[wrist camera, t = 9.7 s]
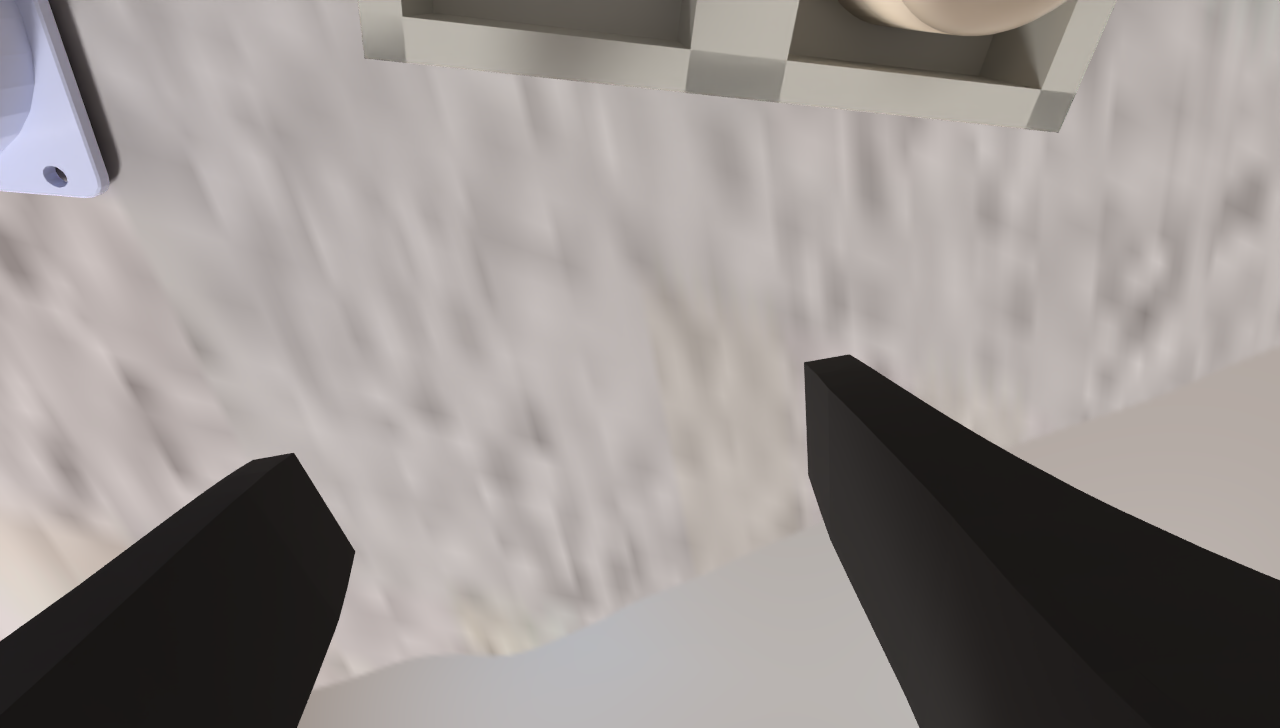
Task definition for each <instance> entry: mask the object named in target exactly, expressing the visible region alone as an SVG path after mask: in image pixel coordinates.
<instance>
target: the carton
mask: <svg viewBox="0 0 1280 728" xmlns="http://www.w3.org/2000/svg"><path fill="white" fill-rule="evenodd" d="M1116 1H1117V0H1067V1H1066V2H1064V3H1063V4H1062V5H1060V6H1059V7H1057V8H1056V9H1054V10H1053V11H1051V12H1049V13H1047V14H1045V15H1044V16H1042V17H1040V18H1038V19H1036V20H1034V21H1032V22H1030V23H1028V24H1025V25H1023V26H1020V27H1018V28H1015V29H1011V30H1008V31H1004V32H1000V33H996V34H991V35H982V36H959V35H950V34H941V33H933V32H925V31H917V30H909V29H900V28H892V27H884V26H878V25H873V24H870V23H867V22H865V21H862V20H860V19H858V18H857V17H855V16H853V15H852V14H851V13H849V12H848V11H847V10H846V9H845V8H844V7H843V6H842V5H841V4H840V3H839V1H838V0H358V8H359V16H360V25H361V33H362V42H363V50H364V58H365V59H375V60H384V61H394V62H403V63H412V64H422V65H431V66H440V67H450V68H459V69H468V70H478V71H487V72H496V73H506V74H515V75H524V76H534V77H543V78H553V79H562V80H571V81H581V82H590V83H599V84H609V85H618V86H627V87H637V88H646V89H655V90H665V91H674V92H683V93H693V94H702V95H711V96H721V97H730V98H740V99H749V100H758V101H768V102H777V103H786V104H796V105H805V106H814V107H824V108H833V109H842V110H852V111H861V112H870V113H880V114H889V115H899V116H908V117H917V118H927V119H936V120H945V121H955V122H964V123H973V124H983V125H992V126H1001V127H1011V128H1020V129H1029V130H1039V131H1048V132H1057V133H1059V131H1060V128H1061V126H1062V124H1063V122H1064V119H1065V117H1066V115H1067V112H1068V110H1069V108H1070V106H1071V103H1072V101H1073V99H1074V96H1075V94H1076V92H1077V90H1078V87H1079V85H1080V83H1081V81H1082V78H1083V76H1084V74H1085V71H1086V69H1087V67H1088V65H1089V62H1090V60H1091V58H1092V55H1093V53H1094V51H1095V49H1096V46H1097V44H1098V42H1099V39H1100V37H1101V35H1102V33H1103V30H1104V28H1105V26H1106V23H1107V21H1108V19H1109V17H1110V14H1111V12H1112V10H1113V7H1114V5H1115V3H1116Z"/></svg>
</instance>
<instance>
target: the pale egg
mask: <svg viewBox="0 0 1280 728" xmlns="http://www.w3.org/2000/svg"><path fill="white" fill-rule="evenodd" d="M838 1H839V3H840V4H841V5H842V6H843V7H844V8H845V9H846V10H847V11H848V12H849V13H851V14H852V15H853V16H855V17H857V18H858V19H860V20H862V21H865V22H867V23H870V24H873V25H878V26H884V27H892V28H900V29H909V30H917V31H925V32H933V33H941V34H950V35H959V36H982V35H991V34H996V33H1000V32H1004V31H1008V30H1011V29H1015V28H1018V27H1020V26H1023V25H1025V24H1028V23H1030V22H1032V21H1034V20H1036V19H1038V18H1040V17H1042V16H1044V15H1045V14H1047V13H1049V12H1051V11H1053V10H1054V9H1056V8H1057V7H1059V6H1060V5H1062V4H1063V3H1064V2H1066V1H1067V0H838Z"/></svg>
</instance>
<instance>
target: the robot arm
mask: <svg viewBox="0 0 1280 728" xmlns="http://www.w3.org/2000/svg"><path fill="white" fill-rule="evenodd" d="M55 167H57V168H59V169H60V170H61V171H63V172H64V174H65V175H66V177H67V182H65V181H64V180H62V179H61V178H60V177H59V176H58V174H57V173H56V169H55ZM109 185H110V183H109V176H108V173H107V170H106V168H105V165H104V162H103V159H102V156H101V153H100V150H99V147H98V144H97V141H96V138H95V136H94V133H93V130H92V127H91V124H90V121H89V118H88V115H87V112H86V109H85V106H84V103H83V101H82V98H81V95H80V92H79V89H78V86H77V83H76V80H75V77H74V74H73V71H72V69H71V66H70V63H69V60H68V57H67V54H66V51H65V48H64V45H63V42H62V39H61V37H60V34H59V31H58V28H57V25H56V22H55V19H54V16H53V13H52V10H51V7H50V4H49V2H48V0H0V191H6V192H18V193H30V194H43V195H55V196H67V197H80V198H91V197H95V196H98V195H100V194H102V193H104V192H105V191H107V190H108V187H109ZM804 373H805V400H806V426H807V452H808V475H809V478H810V481H811V484H812V487H813V490H814V493H815V496H816V499H817V502H818V505H819V508H820V511H821V514H822V517H823V520H824V523H825V526H826V529H827V531H828V534H829V537H830V540H831V541H832V544H833V546H834V548H835V550H836V552H837V554H838V557H839V559H840V561H841V563H842V565H843V567H844V569H845V571H846V573H847V576H848V578H849V580H850V582H851V584H852V586H853V588H854V590H855V592H856V594H857V597H858V598H859V601H860V603H861V605H862V607H863V609H864V611H865V613H866V615H867V617H868V619H869V621H870V623H871V625H872V628H873V630H874V632H875V634H876V636H877V638H878V640H879V642H880V644H881V646H882V648H883V650H884V652H885V654H886V656H887V658H888V661H889V663H890V665H891V667H892V669H893V671H894V673H895V675H896V677H897V679H898V681H899V683H900V685H901V688H902V690H903V692H904V694H905V696H906V698H907V700H908V703H909V705H910V707H911V709H912V712H913V714H914V716H915V719H916V721H917V723H918V725H919V728H1280V580H1278V579H1275V578H1273V577H1270V576H1268V575H1265V574H1263V573H1260V572H1258V571H1256V570H1253V569H1251V568H1248V567H1246V566H1244V565H1241V564H1239V563H1237V562H1234V561H1232V560H1230V559H1227V558H1225V557H1223V556H1220V555H1218V554H1216V553H1213V552H1211V551H1209V550H1206V549H1204V548H1201V547H1199V546H1197V545H1195V544H1193V543H1191V542H1188V541H1186V540H1184V539H1182V538H1180V537H1178V536H1175V535H1173V534H1171V533H1169V532H1167V531H1164V530H1162V529H1160V528H1158V527H1156V526H1154V525H1151V524H1149V523H1147V522H1145V521H1143V520H1141V519H1138V518H1136V517H1134V516H1132V515H1130V514H1127V513H1125V512H1123V511H1121V510H1119V509H1117V508H1115V507H1112V506H1110V505H1109V504H1106V503H1104V502H1102V501H1100V500H1098V499H1096V498H1094V497H1092V496H1090V495H1088V494H1086V493H1084V492H1082V491H1080V490H1078V489H1076V488H1074V487H1072V486H1070V485H1069V484H1067V483H1065V482H1063V481H1061V480H1059V479H1057V478H1056V477H1054V476H1052V475H1050V474H1048V473H1046V472H1044V471H1043V470H1041V469H1039V468H1037V467H1035V466H1033V465H1031V464H1029V463H1027V462H1026V461H1024V460H1022V459H1020V458H1018V457H1016V456H1014V455H1013V454H1011V453H1009V452H1007V451H1006V450H1004V449H1002V448H1000V447H999V446H997V445H995V444H993V443H992V442H990V441H988V440H986V439H985V438H983V437H981V436H980V435H978V434H976V433H974V432H973V431H971V430H969V429H968V428H966V427H964V426H963V425H961V424H959V423H958V422H956V421H954V420H953V419H951V418H949V417H948V416H946V415H945V414H943V413H941V412H940V411H938V410H936V409H935V408H933V407H932V406H930V405H928V404H927V403H925V402H924V401H922V400H920V399H919V398H917V397H916V396H914V395H913V394H911V393H909V392H908V391H906V390H905V389H903V388H902V387H900V386H899V385H897V384H895V383H894V382H892V381H891V380H889V379H888V378H886V377H885V376H883V375H881V374H880V373H878V372H877V371H875V370H874V369H872V368H871V367H869V366H867V365H866V364H864V363H863V362H861V361H859V360H858V359H856V358H854V357H853V356H851V355H843V356H838V357H832V358H826V359H821V360H815V361H810V362H804ZM354 555H355V550H354V549H353V547H352V545H351V544H350V542H349V541H348V539H347V537H346V536H345V534H344V533H343V531H342V529H341V528H340V526H339V525H338V523H337V521H336V520H335V518H334V516H333V515H332V513H331V512H330V510H329V508H328V507H327V505H326V504H325V502H324V500H323V499H322V497H321V496H320V494H319V492H318V491H317V489H316V488H315V486H314V484H313V483H312V481H311V479H310V478H309V476H308V475H307V473H306V471H305V470H304V468H303V467H302V465H301V463H300V462H299V460H298V459H297V457H296V455H295V454H294V453H290V454H284V455H279V456H273V457H268V458H262V459H256V460H252V461H251V462H249V463H247V464H246V465H244V466H242V467H241V468H239V469H237V470H236V471H234V472H233V473H231V474H230V475H228V476H227V477H225V478H224V479H222V480H221V481H219V482H218V483H216V484H215V485H213V486H212V487H211V488H209V489H208V490H206V491H205V492H204V493H202V494H201V495H199V496H198V497H197V498H195V499H194V500H192V501H191V502H190V503H188V504H187V505H186V506H184V507H183V508H182V509H180V510H179V511H177V512H176V513H175V514H173V515H172V516H171V517H169V518H168V519H167V520H165V521H164V522H163V523H161V524H160V525H159V526H157V527H156V528H155V529H153V530H152V531H151V532H149V533H148V534H147V535H145V536H144V537H143V538H141V539H140V540H139V541H137V542H136V543H135V544H133V545H132V546H131V547H129V548H128V549H127V550H125V551H124V552H123V553H121V554H120V555H119V556H117V557H116V558H115V559H113V560H112V561H111V562H109V563H108V564H107V565H105V566H104V567H103V568H101V569H100V570H99V571H97V572H96V573H95V574H93V575H92V576H90V577H89V578H88V579H86V580H85V581H84V582H82V583H81V584H80V585H78V586H77V587H76V588H74V589H73V590H71V591H70V592H69V593H67V594H66V595H64V596H63V597H62V598H60V599H59V600H57V601H56V602H55V603H53V604H52V605H50V606H49V607H48V608H46V609H45V610H43V611H42V612H41V613H39V614H38V615H37V616H35V617H34V618H32V619H31V620H30V621H28V622H27V623H25V624H24V625H23V626H21V627H20V628H18V629H17V630H16V631H14V632H13V633H11V634H10V635H9V636H7V637H6V638H4V639H3V640H2V641H0V728H297V726H298V723H299V721H300V719H301V716H302V714H303V711H304V709H305V706H306V704H307V701H308V699H309V696H310V694H311V691H312V689H313V686H314V684H315V681H316V679H317V676H318V673H319V671H320V668H321V666H322V663H323V660H324V658H325V655H326V653H327V650H328V647H329V645H330V642H331V640H332V637H333V634H334V632H335V629H336V626H337V623H338V621H339V617H340V614H341V610H342V606H343V602H344V598H345V595H346V591H347V587H348V582H349V578H350V573H351V568H352V564H353V559H354Z"/></svg>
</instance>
